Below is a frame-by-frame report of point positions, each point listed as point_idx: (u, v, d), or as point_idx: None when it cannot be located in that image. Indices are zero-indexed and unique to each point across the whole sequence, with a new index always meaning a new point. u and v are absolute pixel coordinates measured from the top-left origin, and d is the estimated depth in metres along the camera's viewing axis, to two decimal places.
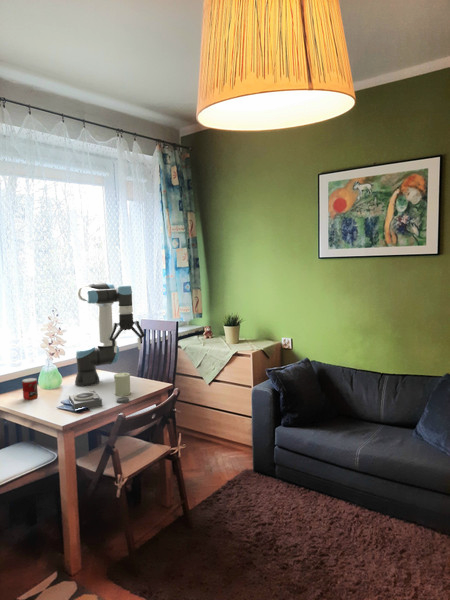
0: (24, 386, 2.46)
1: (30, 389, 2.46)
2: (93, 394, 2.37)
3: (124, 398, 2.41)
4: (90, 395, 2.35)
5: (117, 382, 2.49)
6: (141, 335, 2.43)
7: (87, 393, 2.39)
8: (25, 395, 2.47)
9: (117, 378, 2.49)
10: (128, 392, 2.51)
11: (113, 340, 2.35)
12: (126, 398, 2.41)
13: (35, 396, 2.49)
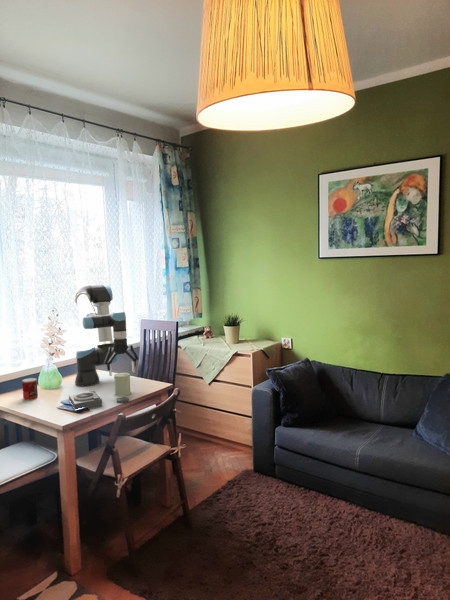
0: (24, 386, 2.46)
1: (30, 389, 2.46)
2: (93, 394, 2.37)
3: (124, 398, 2.41)
4: (90, 395, 2.35)
5: (117, 382, 2.49)
6: (135, 358, 2.55)
7: (87, 393, 2.39)
8: (25, 395, 2.47)
9: (117, 378, 2.49)
10: (128, 392, 2.51)
11: (108, 364, 2.47)
12: (126, 398, 2.41)
13: (35, 396, 2.49)
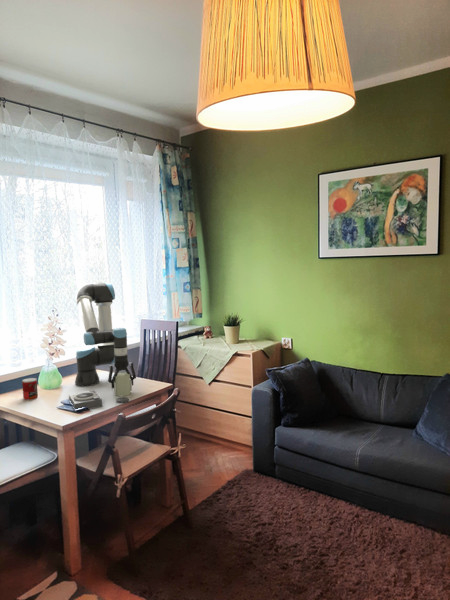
0: (24, 386, 2.46)
1: (30, 389, 2.46)
2: (93, 394, 2.37)
3: (124, 398, 2.41)
4: (90, 395, 2.35)
5: (117, 382, 2.49)
6: (132, 377, 2.55)
7: (87, 393, 2.39)
8: (25, 395, 2.47)
9: (117, 378, 2.49)
10: (128, 392, 2.51)
11: (112, 382, 2.49)
12: (126, 398, 2.41)
13: (35, 396, 2.49)
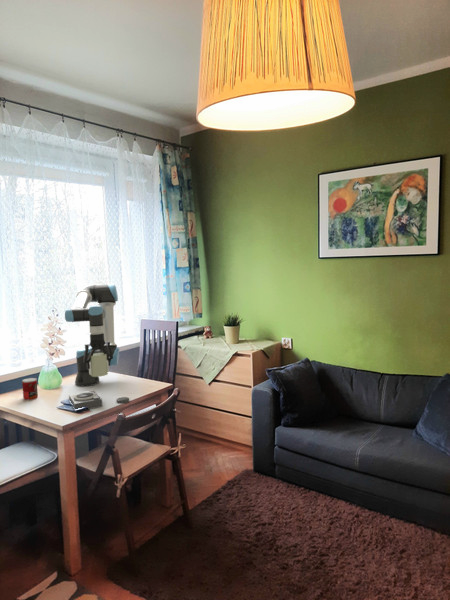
0: (24, 386, 2.46)
1: (30, 389, 2.46)
2: (93, 394, 2.37)
3: (124, 398, 2.41)
4: (90, 395, 2.35)
5: (93, 362, 2.37)
6: (109, 357, 2.43)
7: (87, 393, 2.39)
8: (25, 395, 2.47)
9: (93, 358, 2.36)
10: (105, 373, 2.39)
11: (88, 362, 2.37)
12: (126, 398, 2.41)
13: (35, 396, 2.49)
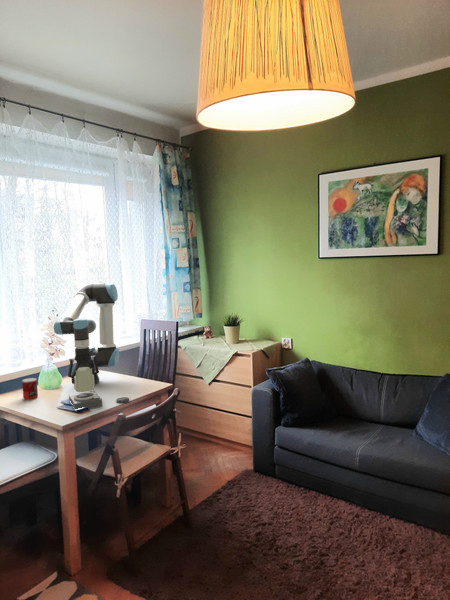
0: (24, 386, 2.46)
1: (30, 389, 2.46)
2: (93, 394, 2.37)
3: (123, 398, 2.41)
4: (90, 395, 2.35)
5: (78, 377, 2.31)
6: (95, 372, 2.37)
7: (87, 393, 2.39)
8: (25, 395, 2.47)
9: (77, 372, 2.31)
10: (90, 388, 2.33)
11: (72, 377, 2.31)
12: (126, 398, 2.41)
13: (35, 396, 2.49)
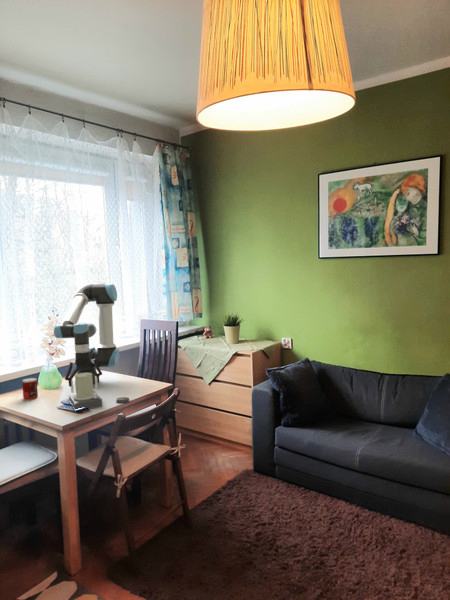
0: (24, 386, 2.46)
1: (30, 389, 2.46)
2: None
3: (123, 398, 2.41)
4: None
5: (78, 383, 2.31)
6: (98, 374, 2.38)
7: None
8: (25, 395, 2.47)
9: (78, 378, 2.31)
10: (90, 393, 2.34)
11: (69, 380, 2.30)
12: (125, 398, 2.41)
13: (35, 396, 2.49)
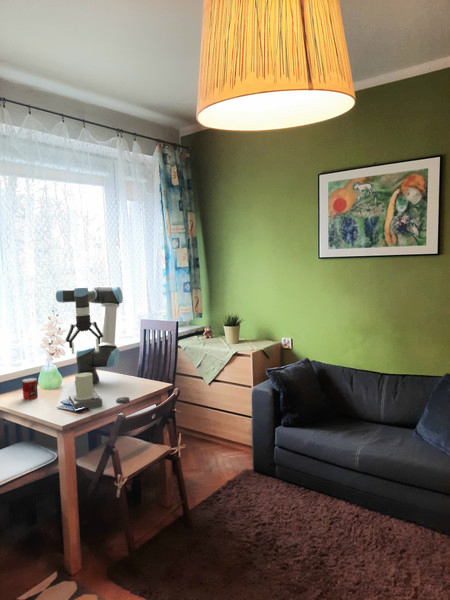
0: (24, 386, 2.46)
1: (30, 389, 2.46)
2: None
3: (122, 398, 2.41)
4: None
5: (78, 383, 2.31)
6: (99, 336, 2.45)
7: None
8: (25, 395, 2.47)
9: (78, 378, 2.31)
10: (90, 393, 2.34)
11: (70, 341, 2.36)
12: (124, 397, 2.41)
13: (35, 396, 2.49)
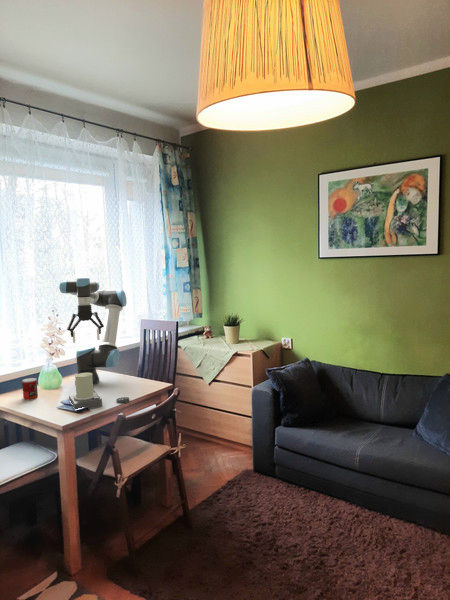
0: (24, 386, 2.46)
1: (30, 389, 2.46)
2: None
3: (122, 398, 2.41)
4: None
5: (78, 383, 2.31)
6: (100, 326, 2.50)
7: None
8: (25, 395, 2.47)
9: (78, 378, 2.31)
10: (90, 393, 2.34)
11: (71, 330, 2.42)
12: (123, 397, 2.42)
13: (35, 396, 2.49)
